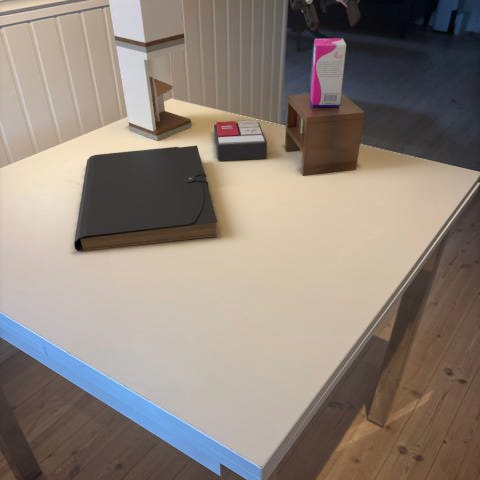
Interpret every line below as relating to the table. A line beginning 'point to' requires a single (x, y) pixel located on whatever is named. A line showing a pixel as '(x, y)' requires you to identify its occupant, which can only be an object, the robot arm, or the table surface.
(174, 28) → the white tower
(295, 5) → the robot arm
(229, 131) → the dark grey flat box
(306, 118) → the shelf
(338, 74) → the supplement box
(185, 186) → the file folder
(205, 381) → the table surface
